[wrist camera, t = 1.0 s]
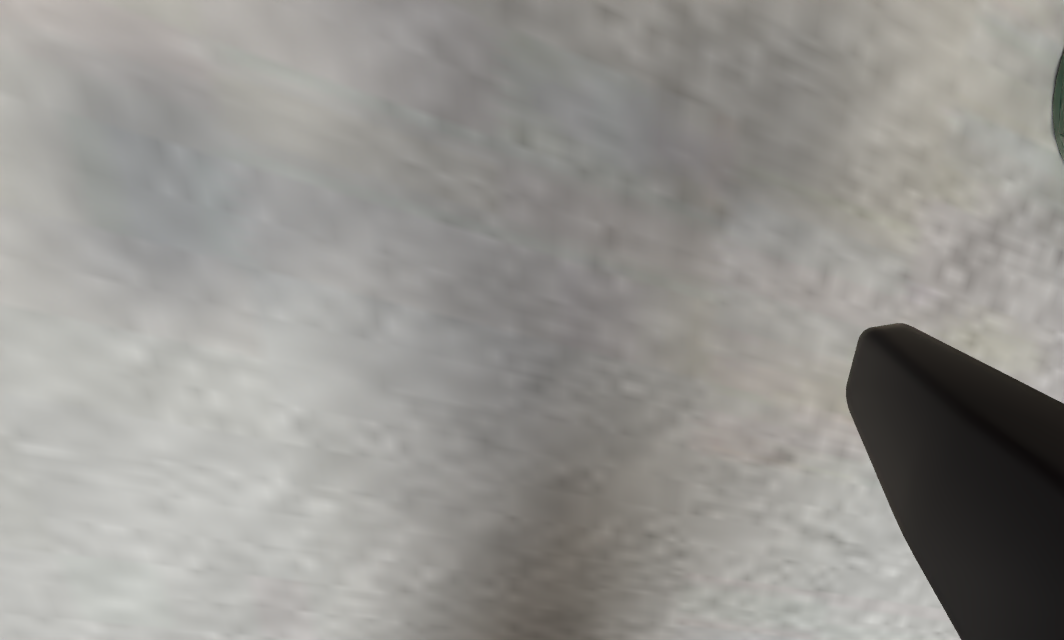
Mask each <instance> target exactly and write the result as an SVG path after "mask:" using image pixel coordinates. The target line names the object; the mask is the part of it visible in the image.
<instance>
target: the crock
mask: <svg viewBox="0 0 1064 640" xmlns="http://www.w3.org/2000/svg"><path fill="white" fill-rule="evenodd" d="M1053 123H1054V130H1055V137H1056V141H1057V144H1058V147H1059V151H1060V154H1061V156H1062V158H1063V160H1064V54H1063V56H1062V59H1061V63H1060V67H1059V70H1058V74H1057V78H1056V84H1055V91H1054V98H1053Z"/></svg>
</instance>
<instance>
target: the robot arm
mask: <svg viewBox="0 0 1064 640" xmlns="http://www.w3.org/2000/svg"><path fill="white" fill-rule="evenodd" d="M846 399H847V404H848V408H849V411H850V413H851V416H852V418H853V420H854V423H855V425H856V427H857V430H858V432H859V434H860V437H861V439H862V441H863V444H864V446H865V449H866V451H867V453H868V456H869V458H870V460H871V463H872V465H873V467H874V470H875V472H876V474H877V477H878V479H879V481H880V484H881V486H882V488H883V491H884V493H885V495H886V498H887V500H888V502H889V505H890V507H891V509H892V512H893V514H894V516H895V519H896V521H897V523H898V525H899V527H900V529H901V531H902V534H903V536H904V538H905V540H906V541H907V543H908V545H909V547H910V549H911V551H912V553H913V555H914V556H915V558H916V560H917V562H918V564H919V565H920V567H921V569H922V571H923V572H924V574H925V576H926V578H927V580H928V581H929V583H930V585H931V587H932V588H933V590H934V592H935V594H936V596H937V597H938V599H939V601H940V603H941V604H942V606H943V608H944V610H945V611H946V613H947V615H948V617H949V619H950V620H951V622H952V624H953V626H954V627H955V629H956V631H957V633H958V635H959V636H960V638H961V640H1064V404H1063V403H1061V402H1059V401H1057V400H1055V399H1053V398H1051V397H1049V396H1047V395H1045V394H1044V393H1042V392H1040V391H1038V390H1036V389H1034V388H1032V387H1030V386H1028V385H1026V384H1024V383H1022V382H1020V381H1018V380H1016V379H1014V378H1012V377H1010V376H1008V375H1006V374H1004V373H1002V372H1000V371H998V370H996V369H994V368H992V367H990V366H988V365H986V364H985V363H983V362H981V361H979V360H977V359H975V358H973V357H971V356H969V355H967V354H965V353H963V352H961V351H959V350H957V349H955V348H953V347H951V346H949V345H947V344H945V343H943V342H941V341H939V340H937V339H935V338H933V337H931V336H929V335H928V334H926V333H924V332H922V331H920V330H918V329H916V328H914V327H912V326H909V325H907V324H903V323H896V324H890V325H883V326H877V327H871V328H868V329H866V330H865V331H864V332H863V333H862V334H861V335H860V337H859V340H858V343H857V347H856V351H855V355H854V359H853V362H852V366H851V370H850V374H849V378H848V381H847V386H846Z"/></svg>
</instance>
